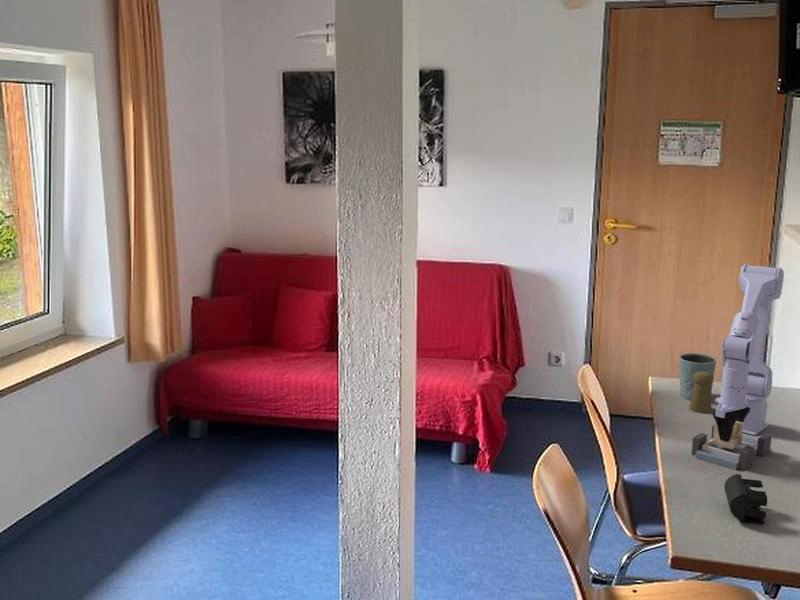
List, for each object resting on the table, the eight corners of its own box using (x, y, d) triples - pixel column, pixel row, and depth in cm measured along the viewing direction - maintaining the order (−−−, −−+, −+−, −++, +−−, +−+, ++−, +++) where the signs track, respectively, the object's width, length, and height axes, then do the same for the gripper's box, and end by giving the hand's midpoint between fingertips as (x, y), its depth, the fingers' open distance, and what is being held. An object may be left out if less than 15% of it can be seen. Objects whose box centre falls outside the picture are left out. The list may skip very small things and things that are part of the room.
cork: (713, 413, 234) (716, 376, 231) (690, 412, 235) (693, 375, 232) (709, 406, 239) (713, 369, 237) (687, 404, 241) (690, 368, 238)
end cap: (722, 500, 183) (725, 472, 181) (757, 504, 181) (760, 475, 179) (728, 522, 173) (731, 492, 172) (764, 526, 172) (768, 496, 170)
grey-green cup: (714, 403, 242) (718, 364, 239) (677, 400, 244) (681, 361, 241) (710, 392, 251) (713, 354, 248) (675, 389, 254) (678, 351, 251)
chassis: (720, 435, 218) (721, 419, 217) (771, 449, 209) (773, 433, 208) (689, 455, 206) (690, 439, 205) (742, 471, 197) (744, 454, 196)
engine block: (721, 438, 209) (723, 417, 208) (741, 443, 206) (743, 422, 205) (712, 444, 206) (714, 423, 205) (732, 449, 202) (734, 428, 201)
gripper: (730, 374, 210) (725, 425, 213) (705, 388, 200) (700, 441, 203) (759, 380, 205) (753, 432, 208) (734, 395, 195) (729, 449, 198)
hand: (729, 437), depth 205 cm, fingers closed on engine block, 5 cm apart
